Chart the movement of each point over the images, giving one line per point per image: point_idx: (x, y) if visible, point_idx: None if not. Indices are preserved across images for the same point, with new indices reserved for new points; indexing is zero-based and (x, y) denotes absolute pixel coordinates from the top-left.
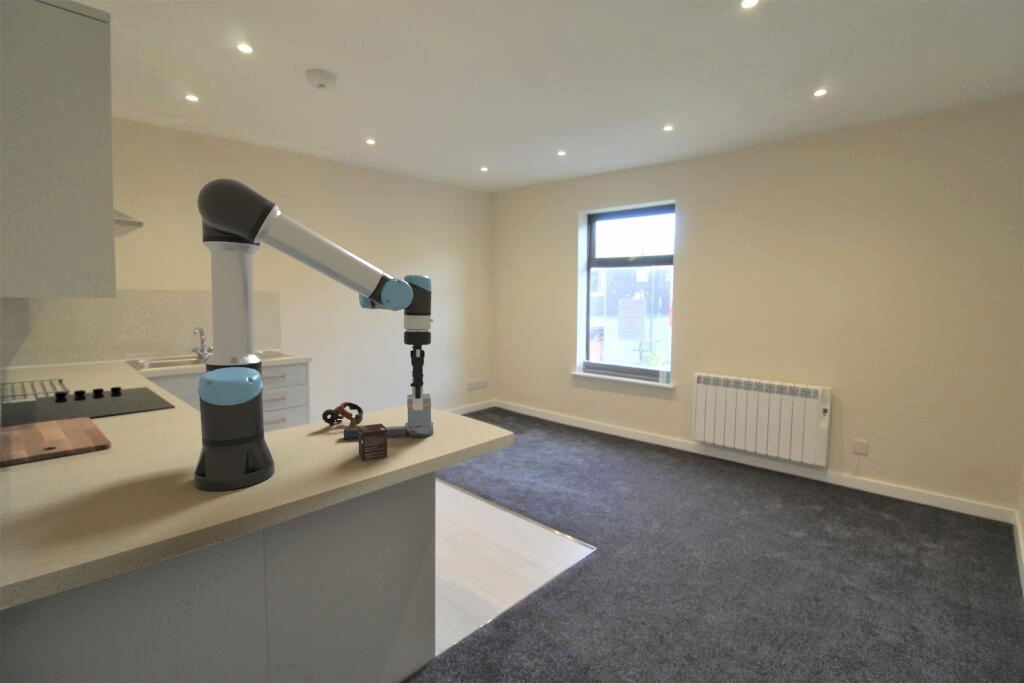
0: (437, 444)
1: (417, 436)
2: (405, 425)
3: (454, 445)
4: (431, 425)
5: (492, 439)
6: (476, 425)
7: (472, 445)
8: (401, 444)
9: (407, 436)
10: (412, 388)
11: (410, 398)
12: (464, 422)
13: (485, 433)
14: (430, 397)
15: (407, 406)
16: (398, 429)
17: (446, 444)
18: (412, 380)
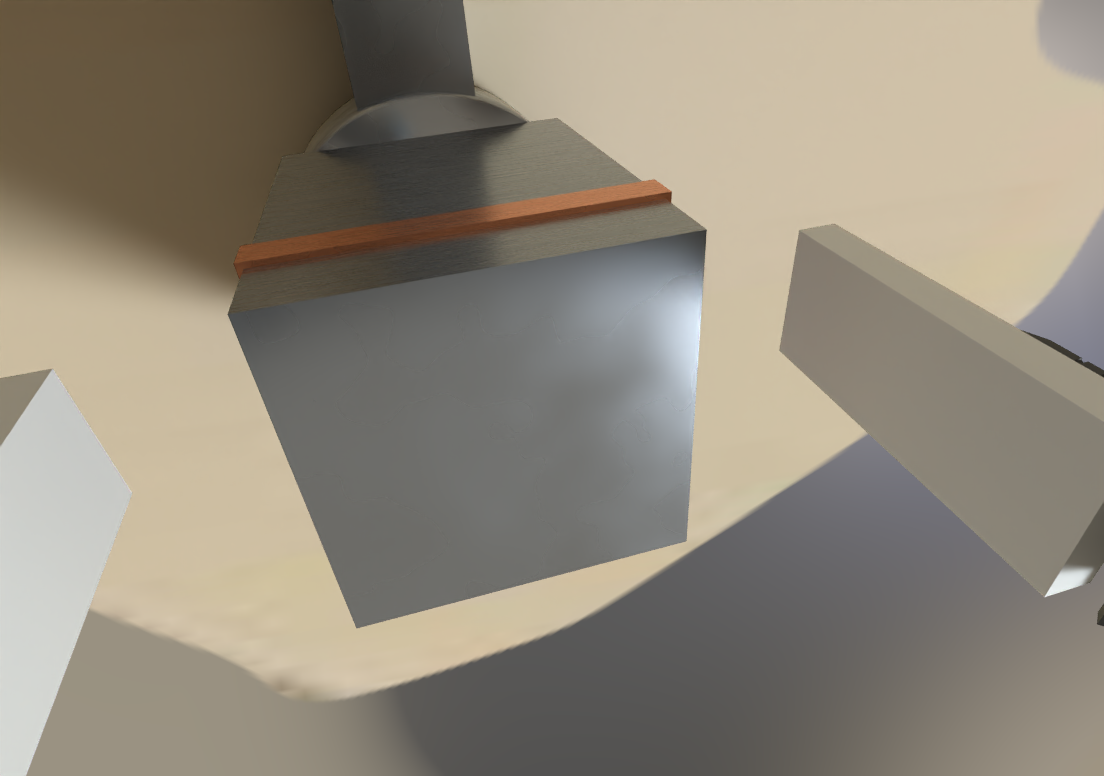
0: (112, 421)
1: None
2: (374, 110)
3: None
4: None
5: (300, 682)
6: (620, 564)
7: (141, 623)
8: (19, 80)
9: (332, 115)
10: (929, 321)
11: (319, 357)
12: (709, 493)
13: (432, 633)
14: (415, 611)
15: (243, 253)
16: (334, 9)
17: (128, 480)
18: (1080, 417)
